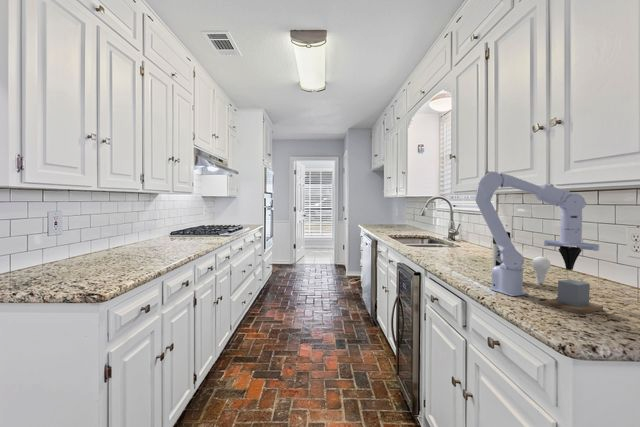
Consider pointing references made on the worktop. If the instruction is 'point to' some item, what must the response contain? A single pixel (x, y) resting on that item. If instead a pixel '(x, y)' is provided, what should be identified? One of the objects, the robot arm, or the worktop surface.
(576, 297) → the blue-grey block
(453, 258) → the worktop surface
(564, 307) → the brown base with post
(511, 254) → the robot arm
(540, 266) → the lightbulb
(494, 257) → the spray can
